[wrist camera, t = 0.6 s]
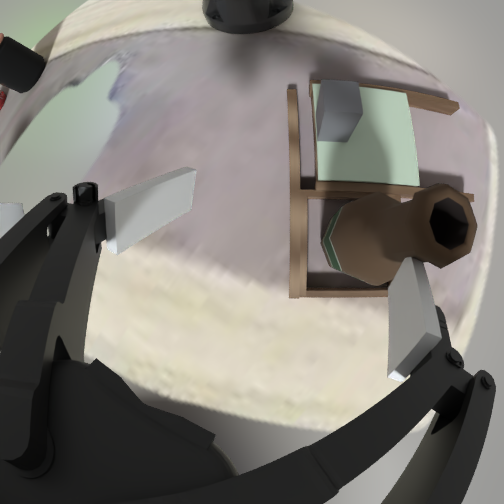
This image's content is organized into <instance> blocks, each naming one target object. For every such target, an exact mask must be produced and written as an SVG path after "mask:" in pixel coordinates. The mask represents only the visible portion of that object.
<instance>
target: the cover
mask: <svg viewBox="0 0 504 504" xmlns="http://www.w3.org/2000/svg"><path fill="white" fill-rule="evenodd" d="M312 89H313V100H314V112H315V127H316V143H317V165H318V180H325V181H352V182H371V183H386V184H399V185H410V186H419V185H420V184H419V172H418V162H417V154H416V146H415V139H414V132H413V126H412V120H411V115H410V110H409V105H408V100H407V95H406V93H401V92H395V91H389V90H382V89H374V88H366V87H359V83H358V82H355V81H343V80H329V79H321V84H312Z"/></svg>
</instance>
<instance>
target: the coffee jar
mask: <svg viewBox="0 0 504 504" xmlns="http://www.w3.org/2000/svg"><path fill="white" fill-rule="evenodd" d="M44 67H45V61H44V58H43V57H42V56H40V55H39V54H37V53H35V52H34V51H32V50H30V49H29V48H27V47H25V46H24V45H22V44H20V43H19V42H17V41H15V40H13V39H12V38H10V37H4V35H3V34H2V33H0V84H1V85H3V86H6V87H8V88H10V89H13V90H15V91H17V92H19V93H23V92H27V91H28V90H30V89H31V88H32V87H33V86H34V85H35V83H36V82H37V81H38V79H39V78H40V76H41V74H42V72H43V70H44Z"/></svg>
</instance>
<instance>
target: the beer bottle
mask: <svg viewBox="0 0 504 504" xmlns="http://www.w3.org/2000/svg"><path fill="white" fill-rule="evenodd" d="M476 230H477V223H476V219H475V216H474V213H473V210H472V207H471V205H470V202H469V199H468V198H467V197H466V196H464V195H463V194H461V193H460V192H458V191H457V190H455V189H454V188H452V187H451V186H449V185H447V184H439V183H438V184H435V185H433V186H430V187H428V188H425V189H423V190H420V191H418V192H415V193H414V196H413V199H412V200H410V201H407V202H404V203H401V202H399V201H397V200H395V199H393V198H391V197H389V196H388V195H386V194H383V193H381V192H379V191H378V192H375V193H373V194H370V195H367V196H365V197H362V198H360V199H357V200H354V201H352V202H349V203H347V204H345V205H343V206H342V207H341V208H340V209H339V210H338V212H337V213H336V214H335V215H334V216H333V217H332V218H331V219H330V222H329V224H328V227H327V229H326V231H325V234H324V236H323V239H322V241H321V246H322V248H323V251H324V253H325V256H326V259H327V261H328V264H329V266H330V267H332V268H334V269H336V270H338V271H341V272H343V273H345V274H347V275H349V276H352V277H354V278H356V279H359V280H361V281H364V282H366V283H368V284H371V285H375V286H379V285H381V284H384V283H386V282H388V281H390V280H393V279H394V277H395V275H396V273H397V272H398V270H399V268H400V266H401V264H402V262H403V261H404V259H405V258H407V257H413V258H415V259H417V260H419V261H421V262H429V263H431V264H433V265H435V266H437V267H438V268H440V269H441V268H443V267H445V266H447V265H449V264H451V263H452V262H454V261H456V260H458V259H460V258H461V257H463V256H465V255H467V254H469V253H470V252H471V248H472V245H473V241H474V238H475V234H476Z"/></svg>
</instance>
